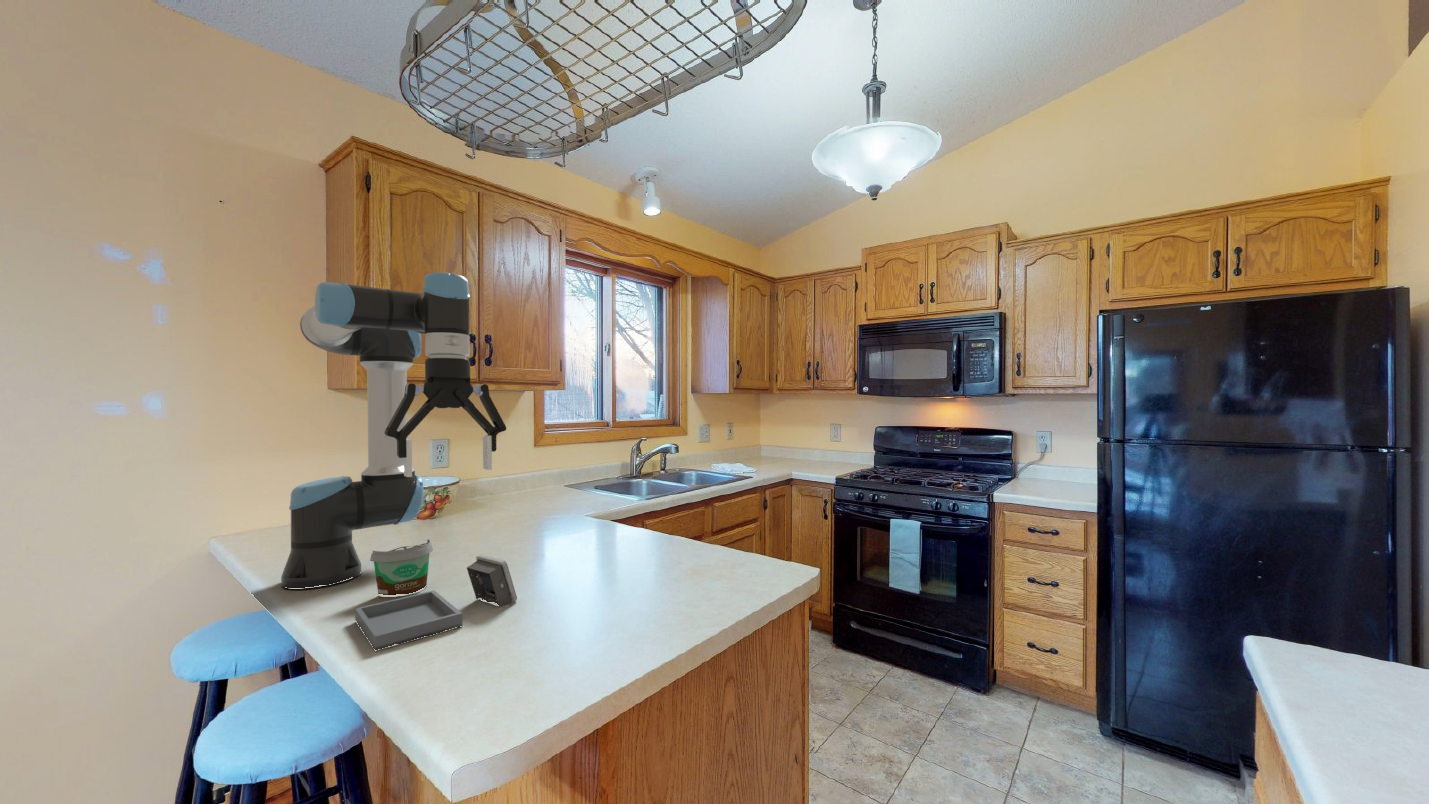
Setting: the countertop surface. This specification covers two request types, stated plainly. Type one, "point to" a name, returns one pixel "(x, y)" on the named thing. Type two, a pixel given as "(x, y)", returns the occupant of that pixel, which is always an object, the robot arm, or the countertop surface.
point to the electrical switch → (492, 580)
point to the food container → (402, 569)
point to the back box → (407, 619)
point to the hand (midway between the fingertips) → (449, 472)
